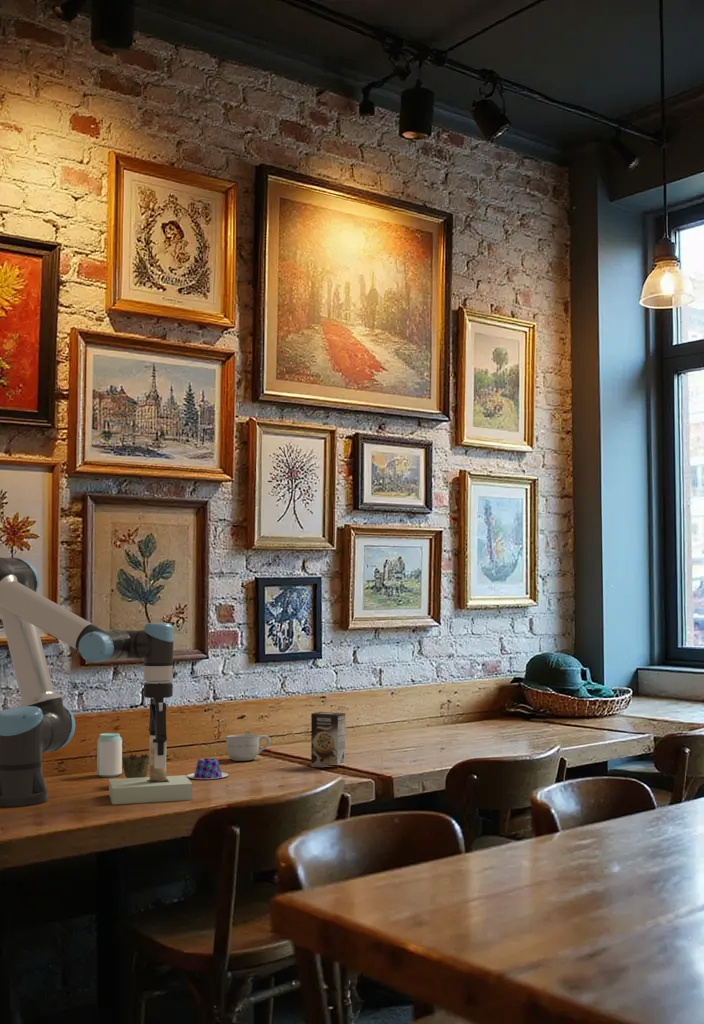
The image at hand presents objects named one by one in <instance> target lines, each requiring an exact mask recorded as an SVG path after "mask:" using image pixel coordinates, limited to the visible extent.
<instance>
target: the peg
mask: <svg viewBox="0 0 704 1024" xmlns="http://www.w3.org/2000/svg"><path fill="white" fill-rule="evenodd" d="M149 742H150V741H149ZM154 758H155V743H153V742H150V761H149V777H150V779H149V781H150V783H164V782H166V776H167V758H166V759H165V768H157V769H155V768H154Z"/></svg>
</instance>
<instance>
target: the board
mask: <svg viewBox="0 0 704 1024" xmlns="http://www.w3.org/2000/svg"><path fill="white" fill-rule="evenodd" d="M149 779H150V776H147V777H146V776H145V777H143V778H126V777H124V778H112V779H111V778H110V779H108V795H109V799H110V801H111V805H124V804H127V805H128V804H142V803H143V804H144V803H161V802H174V801H175V802H177V801H189V800H193V783H192V782H191V780H190V778H189V777H187V775H184V774H183V775H181V774H180V775H166V782H164V783H150V781H149Z"/></svg>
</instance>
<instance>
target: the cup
mask: <svg viewBox="0 0 704 1024" xmlns="http://www.w3.org/2000/svg"><path fill="white" fill-rule="evenodd" d="M149 766H150V761H149V755H147V754H140V756H137V754H132V753H131V754H130V755H128V754H126V756H125V755H122V768H123V769H122V770H123V773H124V775H125V778H143V777H146V776H147V774H148V770H149Z"/></svg>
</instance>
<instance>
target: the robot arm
mask: <svg viewBox="0 0 704 1024" xmlns="http://www.w3.org/2000/svg"><path fill="white" fill-rule="evenodd" d="M39 586H40V577H39V573H38V571H37V569H36V568H35V566H34V564H32V563H31V562H29V561H27V560H25V559H22V558H18V557H3V556H2V557H0V616H1V621H2V625H3V629H4V633H5V637H6V641H7V645H8V649H9V653H10V658H11V662H12V666H13V670H14V673H15V678H16V681H17V682H16V683H17V686H18V689H19V691H18V692H19V694H20V698H21V702H20V704H19V705H18V706H15V707H10V708H5V709H3V710H1V711H0V807H2V808H3V807H24V806H31V805H32V806H33V805H37V804H38V805H39V804H41V803H44V802H45V803H46V802H47V801H48V800H49V789H48V787H47V783H46V780H45V777H44V774H43V770H42V757H43V756H42V754H46V753H47V754H48V753H53V752H56V751H58V750H60V749H62V748H63V747H64V748H65V747H66V746H67V745H68V744H69V743H70V741H72V738H73V737H74V734H75V730H76V719H75V716H74V714H73V712H72V711H71V710H70V709H68V708H67V707H66V706H64V702H63V698H62V695H60V694H59V693H56V692H55V691H54V687H53V683H52V678H51V675H50V671H49V666H48V663H47V659H46V654H45V651H44V650H45V649H44V647H43V642H42V639H41V636H40V630H41V631H43V632H44V633H46V634H49V636H52V637H54V638H56V639H57V640H60V641H61V642H62V643H64V644H66V645H68V646H70V647H72V648H73V649H75V650H77V651H79V655H80V656H81V657H82V658H83V660H85V661H87V662H90V663H98V664H99V663H102V662H103V663H104V662H109V661H116V660H127V659H129V660H131V659H133V660H143V681H144V683H143V698H147V699H150V704H149V725H148V726H149V727H148V732H149V733H148V734H149V741H148V742H149V748H148V749H149V750H148V751H149V752H148V753H149V755H148V756H149V762H150V742H153V743H155V758H154V768H155V769H157V768H165V759H166V760H167V741H168V740H167V739H168V737H167V703H166V702H164V699H167V698H171V697H173V693H174V692H173V691H174V690H173V689H174V687H173V686H174V685H173V684H174V683H173V682H171V681H173V680H174V677H173V676H174V675H173V673H175V672H176V669H175V668H174V667H173V665H174V642H175V639H174V626H173V624H172V623H170V622H147V623H145V624H144V629H141V630H134V629H133V630H131V629H130V630H129V629H112V630H111V629H110V630H108V629H107V630H104V629H102V628H100V627H99V626H96V624H95V625H94V624H93V623H91V622H89V621H88V620H86V619H85V618H83V617H81V616H79V615H77V614H76V613H74V612H72V611H70V610H68V609H67V608H65V607H63V606H61V605H60V604H57V603H56V602H54V601H52V600H50V599H49V598H48V597H46V596H44V595H42V594H40V593H38V588H39ZM39 629H40V630H39Z"/></svg>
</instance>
